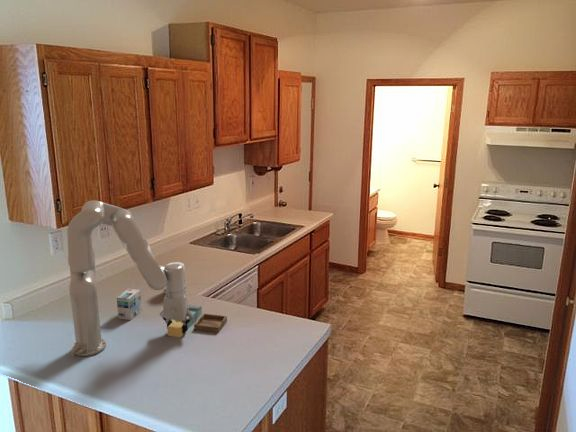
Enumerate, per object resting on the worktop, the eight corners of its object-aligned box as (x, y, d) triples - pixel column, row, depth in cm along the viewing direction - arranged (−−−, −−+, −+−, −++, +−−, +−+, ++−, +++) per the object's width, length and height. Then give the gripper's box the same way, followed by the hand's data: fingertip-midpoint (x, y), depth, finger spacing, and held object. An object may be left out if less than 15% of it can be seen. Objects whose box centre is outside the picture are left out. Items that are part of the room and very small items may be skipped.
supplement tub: (188, 288, 247) (187, 262, 244) (181, 295, 238) (180, 268, 234) (171, 286, 249) (170, 261, 245) (163, 294, 240) (162, 267, 236)
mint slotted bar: (189, 329, 204) (188, 319, 202) (173, 327, 205) (172, 317, 204) (203, 313, 219) (203, 303, 217) (188, 312, 220) (188, 301, 219)
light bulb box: (131, 320, 211) (129, 298, 209) (117, 319, 213) (115, 297, 210) (142, 310, 221) (141, 289, 219) (129, 308, 223) (128, 288, 220)
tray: (218, 332, 201) (218, 327, 201) (194, 329, 204) (194, 324, 203) (226, 321, 212) (226, 316, 211) (204, 318, 214) (203, 313, 214)
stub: (180, 337, 197) (180, 328, 196) (167, 335, 199) (167, 326, 198) (187, 330, 203) (186, 322, 202) (174, 328, 204) (174, 320, 203)
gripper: (152, 294, 194) (154, 333, 199) (190, 298, 191) (192, 338, 195) (160, 287, 201) (163, 325, 206) (198, 291, 198) (199, 329, 202)
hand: (177, 331), depth 200 cm, fingers closed on stub, 6 cm apart
